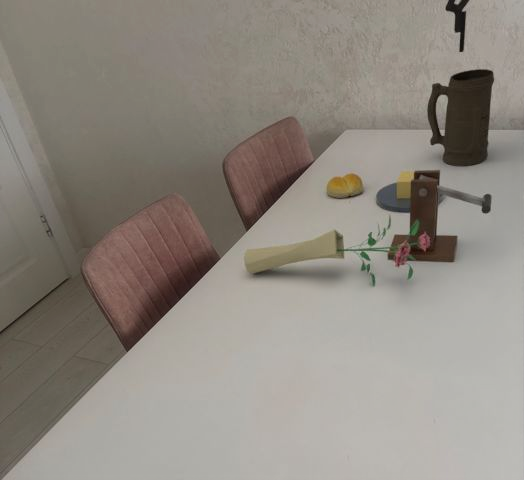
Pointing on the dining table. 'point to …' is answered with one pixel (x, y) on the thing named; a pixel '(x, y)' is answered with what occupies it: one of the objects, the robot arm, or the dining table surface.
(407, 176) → the butter pat
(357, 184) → the bread roll
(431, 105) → the beer stein
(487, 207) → the grey t-shaped bar
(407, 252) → the flower vase
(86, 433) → the dining table surface
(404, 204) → the plate
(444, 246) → the brown wooden stand
